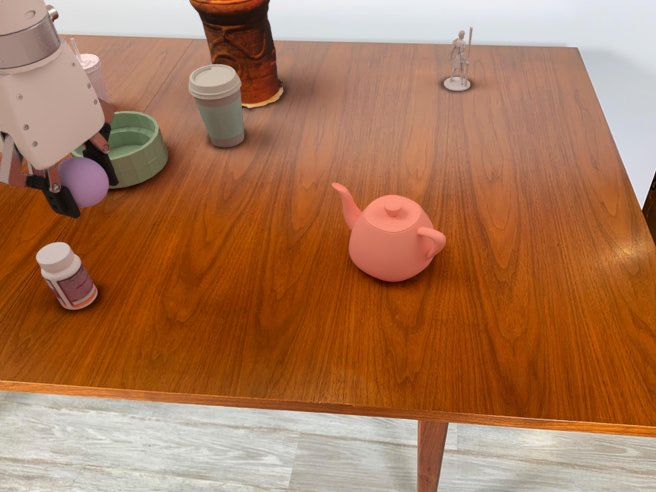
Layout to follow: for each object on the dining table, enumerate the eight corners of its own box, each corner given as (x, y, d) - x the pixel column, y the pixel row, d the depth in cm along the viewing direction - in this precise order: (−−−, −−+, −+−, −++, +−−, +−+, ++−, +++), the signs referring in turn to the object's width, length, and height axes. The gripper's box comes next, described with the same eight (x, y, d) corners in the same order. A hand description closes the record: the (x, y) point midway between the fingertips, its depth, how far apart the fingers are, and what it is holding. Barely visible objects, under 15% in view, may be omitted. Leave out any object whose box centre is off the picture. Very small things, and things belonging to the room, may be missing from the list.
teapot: (419, 305, 77) (422, 254, 70) (312, 253, 83) (305, 202, 76) (463, 252, 83) (469, 200, 76) (360, 208, 90) (358, 157, 83)
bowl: (74, 195, 93) (58, 164, 88) (89, 145, 102) (75, 115, 98) (165, 186, 94) (154, 154, 90) (171, 137, 104) (162, 107, 99)
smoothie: (91, 123, 107) (59, 49, 97) (77, 110, 110) (44, 37, 100) (123, 110, 110) (96, 37, 100) (109, 98, 113) (80, 26, 103)
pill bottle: (103, 284, 80) (79, 239, 74) (90, 311, 76) (63, 266, 70) (69, 284, 80) (42, 239, 74) (54, 310, 77) (25, 265, 70)
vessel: (198, 103, 112) (169, -5, 97) (233, 69, 121) (212, -35, 106) (266, 115, 109) (246, 5, 94) (297, 79, 118) (284, -27, 103)
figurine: (475, 84, 116) (482, 24, 107) (457, 94, 113) (463, 32, 104) (456, 75, 118) (461, 15, 109) (438, 84, 116) (442, 23, 107)
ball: (60, 220, 64) (38, 179, 60) (70, 189, 68) (50, 149, 64) (111, 214, 64) (93, 174, 60) (119, 184, 68) (102, 144, 64)
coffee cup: (238, 120, 108) (224, 57, 99) (260, 141, 103) (248, 77, 94) (195, 135, 104) (177, 72, 95) (216, 158, 100) (199, 93, 91)
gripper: (51, -3, 59) (113, 150, 72) (-104, 74, 48) (3, 236, 61) (110, 9, 57) (163, 164, 70) (-38, 92, 46) (58, 256, 59)
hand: (88, 196), depth 66 cm, fingers closed on ball, 5 cm apart
